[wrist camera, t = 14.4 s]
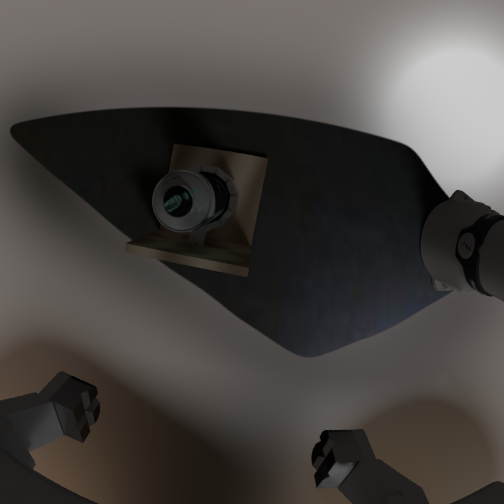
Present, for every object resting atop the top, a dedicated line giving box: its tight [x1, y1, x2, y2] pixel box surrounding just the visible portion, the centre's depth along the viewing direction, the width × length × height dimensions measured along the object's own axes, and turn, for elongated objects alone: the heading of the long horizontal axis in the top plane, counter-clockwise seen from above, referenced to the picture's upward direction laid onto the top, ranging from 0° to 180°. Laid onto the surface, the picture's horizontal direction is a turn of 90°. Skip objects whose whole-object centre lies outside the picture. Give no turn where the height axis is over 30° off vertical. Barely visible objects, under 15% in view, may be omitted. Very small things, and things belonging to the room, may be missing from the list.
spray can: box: [152, 169, 230, 232], centre depth 30 cm, size 6×6×20 cm
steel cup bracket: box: [188, 165, 240, 246], centre depth 37 cm, size 8×10×6 cm
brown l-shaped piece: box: [125, 144, 268, 277], centre depth 35 cm, size 14×14×13 cm
